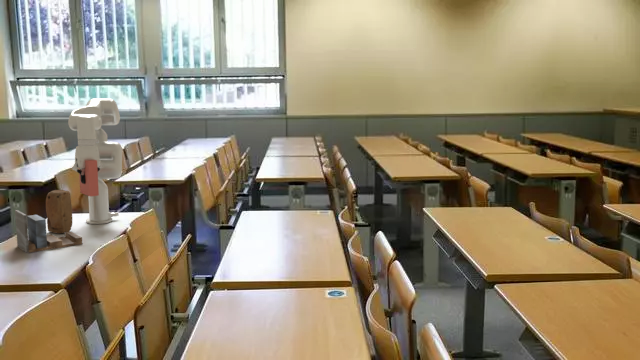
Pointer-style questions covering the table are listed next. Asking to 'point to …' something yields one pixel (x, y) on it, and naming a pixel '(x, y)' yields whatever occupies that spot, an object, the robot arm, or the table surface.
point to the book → (90, 179)
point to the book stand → (40, 234)
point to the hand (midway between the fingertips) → (88, 182)
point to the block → (59, 211)
